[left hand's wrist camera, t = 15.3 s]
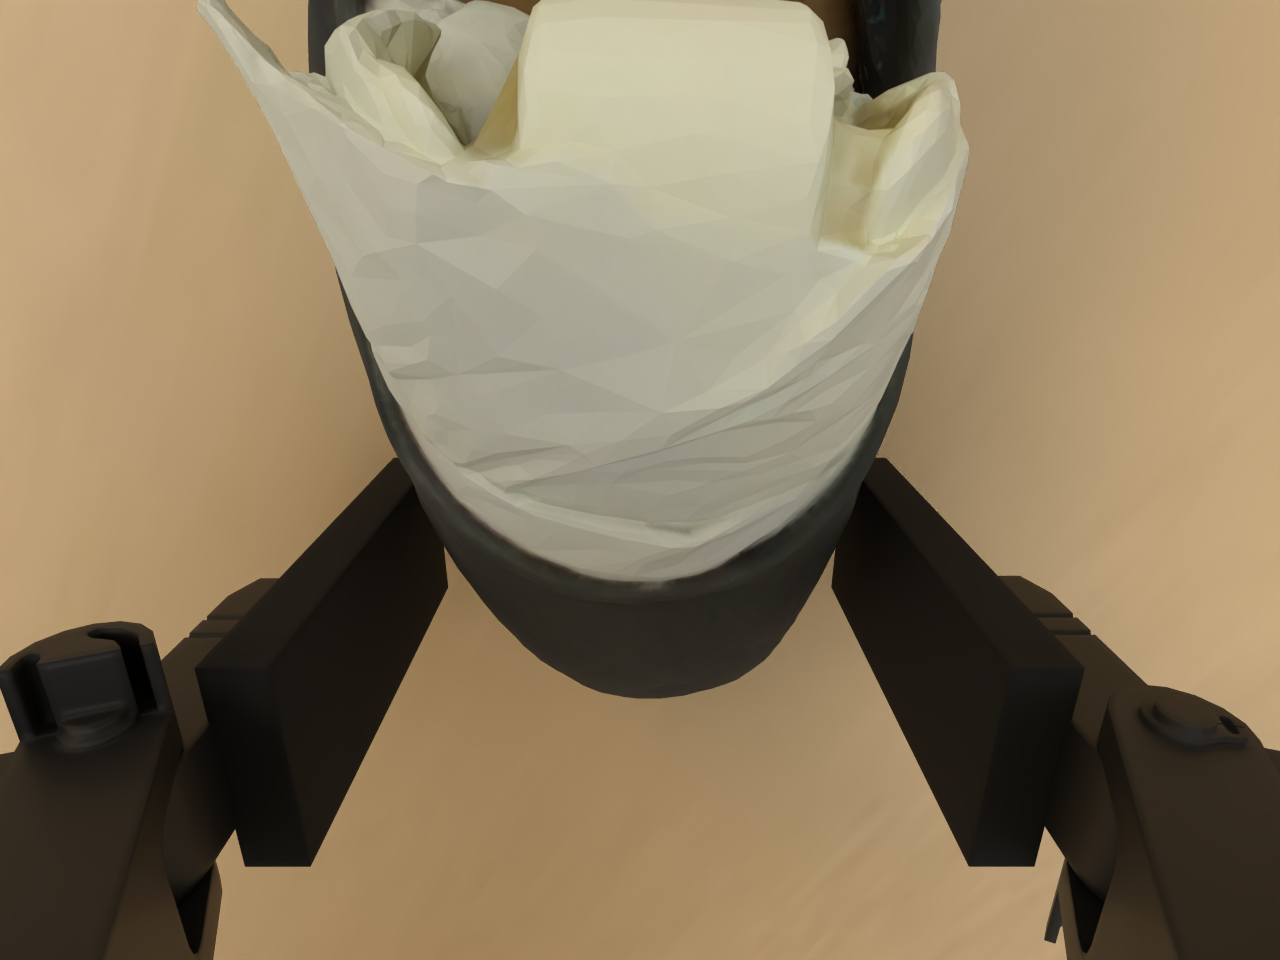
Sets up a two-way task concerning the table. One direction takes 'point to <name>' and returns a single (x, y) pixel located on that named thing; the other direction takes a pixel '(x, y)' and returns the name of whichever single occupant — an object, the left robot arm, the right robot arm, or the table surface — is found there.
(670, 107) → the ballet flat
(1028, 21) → the table surface
